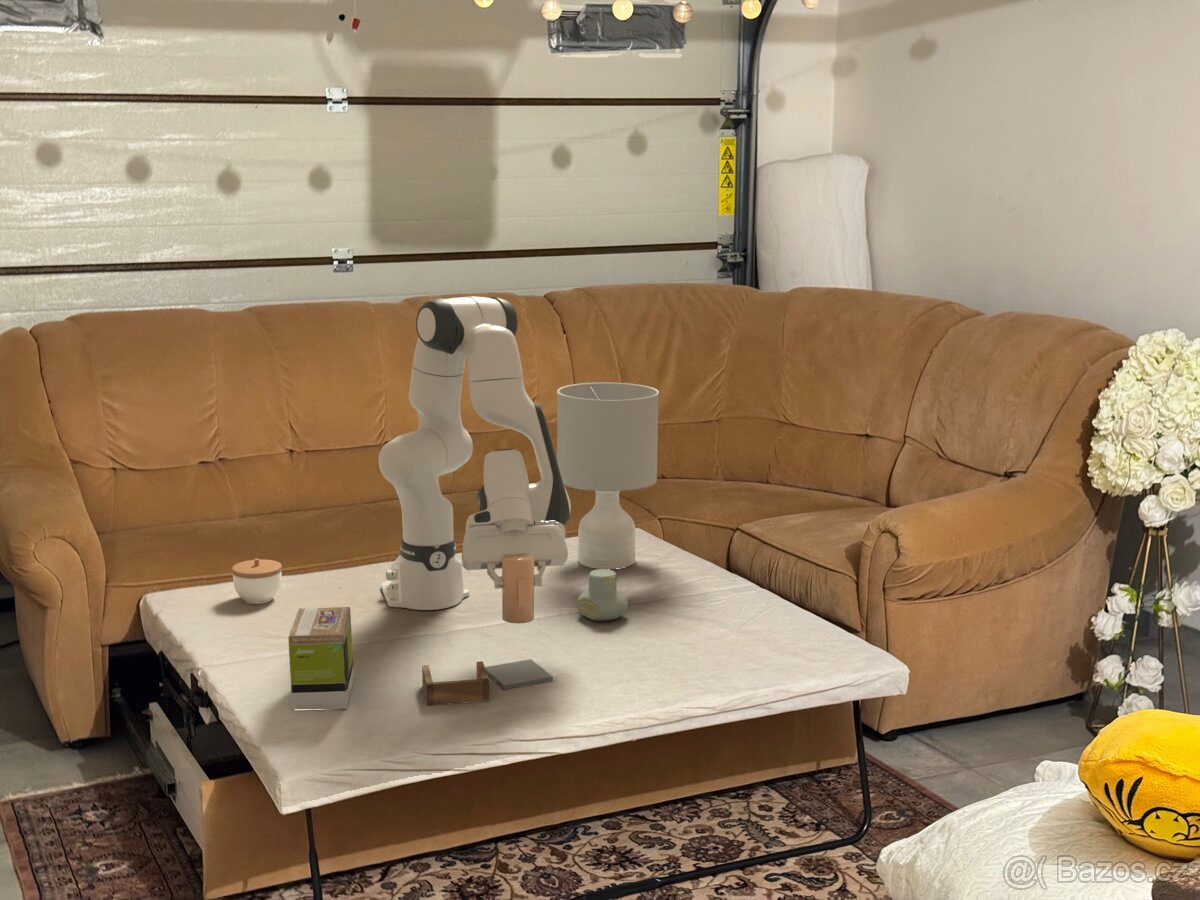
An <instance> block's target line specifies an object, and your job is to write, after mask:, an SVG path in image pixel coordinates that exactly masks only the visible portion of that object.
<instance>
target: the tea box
mask: <svg viewBox="0 0 1200 900" xmlns="http://www.w3.org/2000/svg"><path fill="white" fill-rule="evenodd" d="M351 614H352V613H351V607H350V606H340V607H339V606H338V607H337V606H336V607H333V606H332V607H312V608H311V607H310V608H300V607H299V609H298V611H297V614H296V616H295V619H294V621H293V623H292V627H291V629H290V632H289V634H288V654H289V655H288V656H289V672H290V673H289V674H290V677H289V678H290V690H291V692H290V693H291V707H292V710H293V709H341V710H346V709H347V708H348V703H349V701H350V695H351V691H352V688H353V684H354V680H355V667H354V666H355V665H354V653H353V634H352V633H353V632H352V616H351Z"/></svg>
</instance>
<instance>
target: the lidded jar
mask: <svg viewBox="0 0 1200 900" xmlns="http://www.w3.org/2000/svg"><path fill="white" fill-rule="evenodd" d="M282 569H283V565H282V563H280V562H279V561H277V560H272V559H264V558H263V559H261V558H260V559H259V558H254V559H251V560H244V561H241V562H238V563H236V564H234V565H233V566H232V567H231V573H232V581H233V585H234V589H235V592H236V593H237V595H238V596H239V597H240V598H241V599H243V601H244V603H247V604H251V605H261V604H266V603H269V602H271V601H273V599H274V597H275V596H276V595H277V594H278V592H279V591H280V588H281V584H282Z"/></svg>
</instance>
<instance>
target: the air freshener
mask: <svg viewBox="0 0 1200 900" xmlns="http://www.w3.org/2000/svg"><path fill="white" fill-rule="evenodd" d="M576 604H577V605H576V607H577V609H578V611H579V613H580V614H581V615H583V616H585V617H586V618H588V619H589V620H590V621H592V622H593V621H595V622H605V621H606V622H607V621H612V620H615V619H617V618H619V617H620V618H621V616H622V615H624V614H625V612H626V611H627V609H628V606H629V603H628V599H627V597H626V596H625V594H623V592H621V591H620V590H617V573H616V572H615V570H608V569H594V570H591V571H590V572H589V573H588V589H587V590H585V591H583V592H582V593H581V594H580V595H579V596H578V598H577V601H576Z"/></svg>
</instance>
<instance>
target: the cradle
mask: <svg viewBox="0 0 1200 900" xmlns="http://www.w3.org/2000/svg"><path fill="white" fill-rule="evenodd" d="M475 663H476V665H475V666H476V679H475V678H474V679H462V680H461V679H460V680H449V681H448V680H447V681H445V680H444V681H433V677H432V673H431V668H430V666H429V664H425V665H424V664H423V665H421V668H422V669H421V673H422V678H421V679H422V680H421V681H422V688H423V693H424V694H423V695H424V697H425V701H426V702H427V703H426V702H425V703H426V706H427V705H428V706H439V705H438V704H441V705H449V704H448V703H455V704H464V703H463V702H468V703H475V702H474V701H482V702H489V701H488V700H490V699H491V698H490V696H491V695H490V693H491V692H490V677H489V675H488V674H487V672H486V669H485V667H486V666H485V664H484V661H483V660H482V661H481V660H480V661H476V662H475Z"/></svg>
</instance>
